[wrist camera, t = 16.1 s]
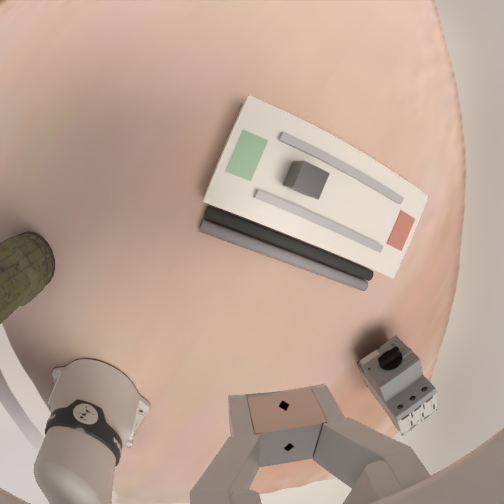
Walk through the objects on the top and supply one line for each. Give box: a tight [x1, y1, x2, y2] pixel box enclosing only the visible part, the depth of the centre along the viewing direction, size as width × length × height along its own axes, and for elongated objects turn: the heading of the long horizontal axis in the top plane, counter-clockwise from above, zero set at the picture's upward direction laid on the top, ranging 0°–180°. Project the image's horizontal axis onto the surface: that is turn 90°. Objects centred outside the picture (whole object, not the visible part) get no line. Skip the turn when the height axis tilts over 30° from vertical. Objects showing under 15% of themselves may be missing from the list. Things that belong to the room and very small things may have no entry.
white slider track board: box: [203, 95, 428, 278], centre depth 36 cm, size 13×28×6 cm, turn 67°
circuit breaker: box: [357, 336, 437, 436], centre depth 42 cm, size 8×14×15 cm, turn 29°
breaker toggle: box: [283, 161, 330, 200], centre depth 30 cm, size 3×3×4 cm
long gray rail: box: [199, 206, 373, 291], centre depth 40 cm, size 3×26×2 cm, turn 67°
